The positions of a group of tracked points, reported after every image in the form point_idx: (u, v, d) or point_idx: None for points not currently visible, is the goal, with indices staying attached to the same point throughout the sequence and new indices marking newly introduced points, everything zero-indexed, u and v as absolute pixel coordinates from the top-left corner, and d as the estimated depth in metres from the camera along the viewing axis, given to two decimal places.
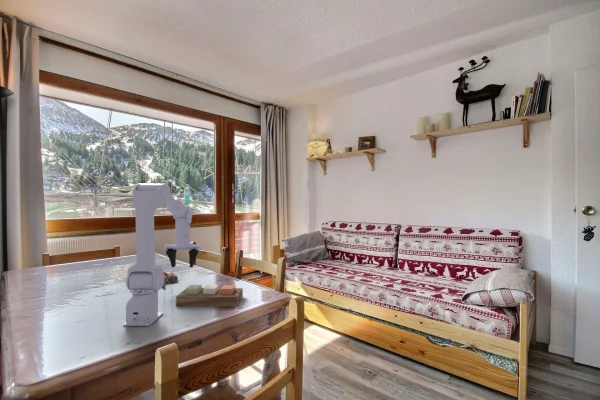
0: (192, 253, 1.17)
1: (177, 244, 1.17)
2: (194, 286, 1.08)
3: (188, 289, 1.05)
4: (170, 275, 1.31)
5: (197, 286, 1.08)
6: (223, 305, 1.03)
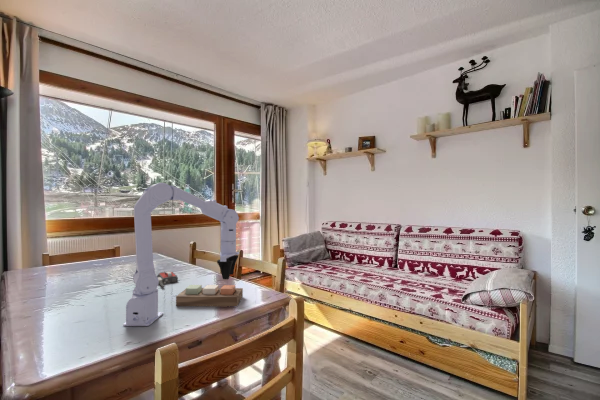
0: None
1: None
2: (194, 286, 1.08)
3: (188, 289, 1.05)
4: (170, 275, 1.32)
5: (197, 286, 1.08)
6: (223, 305, 1.03)
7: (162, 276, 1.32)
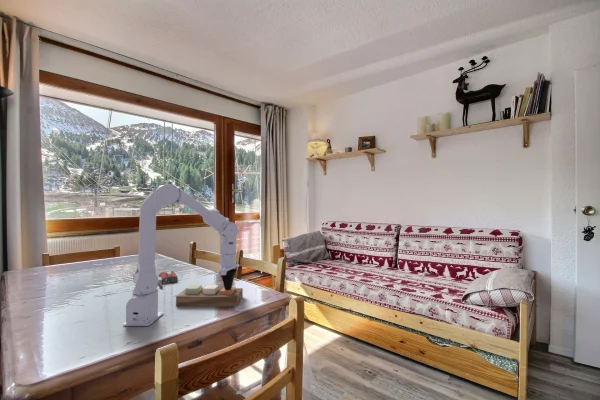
0: None
1: None
2: (194, 286, 1.08)
3: (188, 289, 1.05)
4: (170, 275, 1.32)
5: (197, 286, 1.08)
6: (223, 305, 1.03)
7: (162, 276, 1.32)
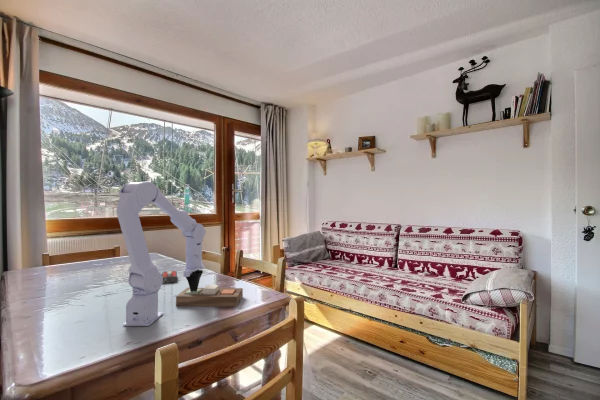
0: None
1: None
2: None
3: (188, 293, 1.05)
4: (170, 275, 1.32)
5: (197, 290, 1.08)
6: (223, 305, 1.03)
7: (163, 275, 1.33)
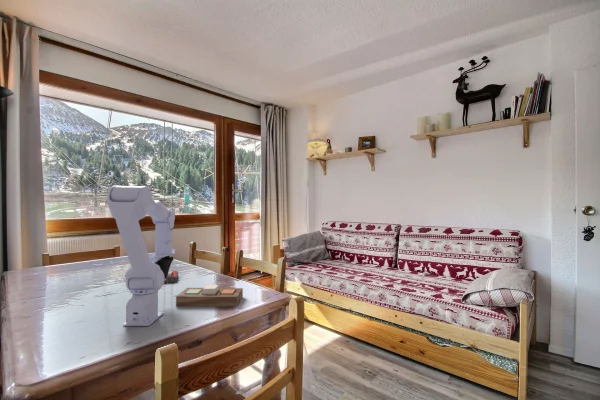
0: None
1: None
2: (194, 290, 1.08)
3: (188, 293, 1.05)
4: (169, 275, 1.32)
5: (197, 291, 1.08)
6: (223, 305, 1.03)
7: None
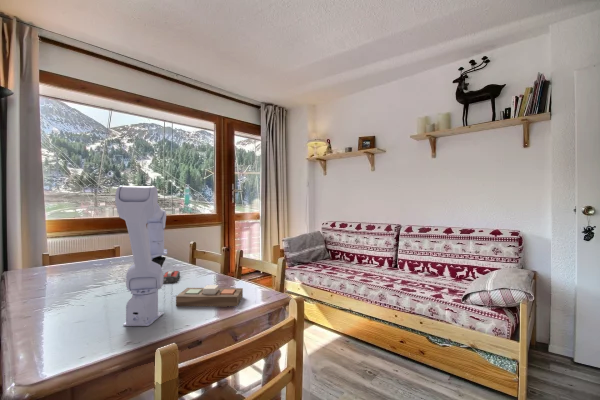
0: None
1: None
2: (194, 290, 1.08)
3: (188, 293, 1.05)
4: (169, 275, 1.32)
5: (197, 291, 1.08)
6: (223, 305, 1.03)
7: (164, 275, 1.34)
